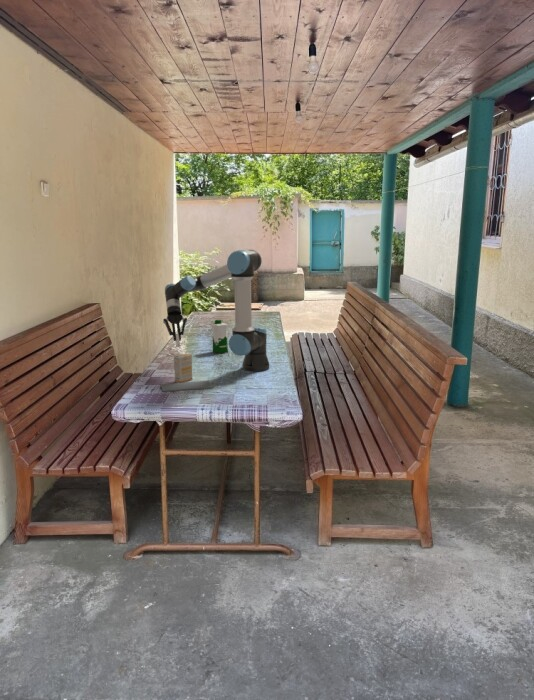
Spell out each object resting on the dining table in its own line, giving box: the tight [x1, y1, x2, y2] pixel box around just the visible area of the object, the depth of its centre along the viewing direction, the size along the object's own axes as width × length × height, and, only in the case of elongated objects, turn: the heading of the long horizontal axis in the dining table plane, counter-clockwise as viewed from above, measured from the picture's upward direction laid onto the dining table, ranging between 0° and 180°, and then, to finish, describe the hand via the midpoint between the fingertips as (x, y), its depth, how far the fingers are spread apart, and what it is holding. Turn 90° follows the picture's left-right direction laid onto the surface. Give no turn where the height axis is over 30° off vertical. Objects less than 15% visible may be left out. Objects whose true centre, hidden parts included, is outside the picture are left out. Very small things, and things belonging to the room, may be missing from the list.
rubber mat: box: [160, 380, 214, 393], centre depth 257 cm, size 24×12×1 cm, turn 106°
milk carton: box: [211, 319, 229, 354], centre depth 331 cm, size 9×9×20 cm
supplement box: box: [173, 353, 193, 383], centre depth 267 cm, size 8×5×13 cm, turn 141°
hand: (178, 345), depth 276 cm, fingers closed
